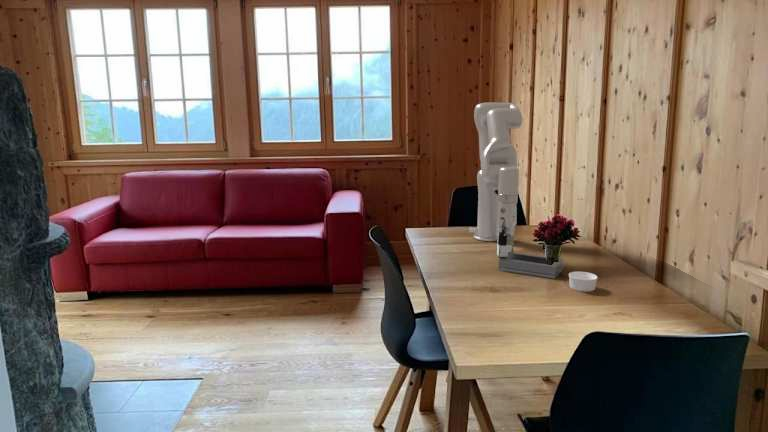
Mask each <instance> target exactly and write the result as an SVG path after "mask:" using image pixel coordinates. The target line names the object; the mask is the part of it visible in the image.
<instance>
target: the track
mask: <svg viewBox="0 0 768 432" xmlns="http://www.w3.org/2000/svg"><path fill="white" fill-rule="evenodd" d="M546 257H547V256H543V255H537V254H536V255H535V254H530V253H529V254H528V253H522V252H514V251H513V252H508V257H499V259H498V267H497V270H498V271H503V272H508V273H514V274H515V273H516V274H523V275H527V276H534V277H542V278H546V279H547V278H548V279H556V278H557V277H558V275H559V274H560V273H561V272H562V271H563V270H564V259H563V258H559V262H554V263H553V264H552V265H548V264H547V262H546Z"/></svg>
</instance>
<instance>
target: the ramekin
mask: <svg viewBox="0 0 768 432" xmlns="http://www.w3.org/2000/svg"><path fill="white" fill-rule="evenodd" d="M568 277H569V278H568V279H569V281H568V283H569V285H568V286H569V287H570V289H572V290H574V291H578V292H585V293H587V292H588V293H589V292H593V291H595V290H596V286H597V281H598V276H597V275H596V274H594V273H592V272H587V271H571V272H569V273H568Z"/></svg>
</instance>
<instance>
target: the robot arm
mask: <svg viewBox="0 0 768 432" xmlns="http://www.w3.org/2000/svg"><path fill="white" fill-rule="evenodd" d="M473 112H474V113H473V118H474V119H473V120H474V123H475V127H476V130H477V132H478V146H479V147H478V149H479V160H480V169H479V171H478V172H477V175H476V182H477V192H478V194H477V198H478V201H477V226H476V227H471V226H469V228H468V232H469V233H474V234H473V239H475V240H478V241H483V242H497V240H498V245H503V246H506V244H507V236H506V233H507V228H508V229H511V228H512V222H513V221H514V222H515V226H517V218H518V217H517V214H518V212H517V209H518V208H517V204H518V198H519V196H518V195H519V177H520V176H519V175H520V170H519V168H518V160H517V157H518V156H517V155H518V154H517V150H516V148H515V146H514V145H513V144H511V135H510V130H513V129H514V130H517V129H520V128H521V127H522V124H523V115H522V112H521V110H520V108H519V107H518V106H516V105H515V104H514V103H513V102H492V101H491V102H482V103H478V104H476V105H475V108H474V110H473ZM496 191H497V192H496ZM503 226H506V227H503ZM498 229H499V230H498ZM504 230H505V231H504ZM498 231H499V233H498Z"/></svg>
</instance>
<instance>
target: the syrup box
mask: <svg viewBox="0 0 768 432" xmlns="http://www.w3.org/2000/svg"><path fill="white" fill-rule="evenodd" d="M503 227H506V226H503ZM515 229H516V225H515V222H514V221H513V222H512V228H511V229H508V228H507V233H506V236H507V244H506V246H503V245H498V240H497V241H496V243H497V244H496V255H497V257H498V258H507V257H508V252H514V242H515ZM498 230H499V229H498ZM504 231H505V230H504ZM498 233H499V231H498Z"/></svg>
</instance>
